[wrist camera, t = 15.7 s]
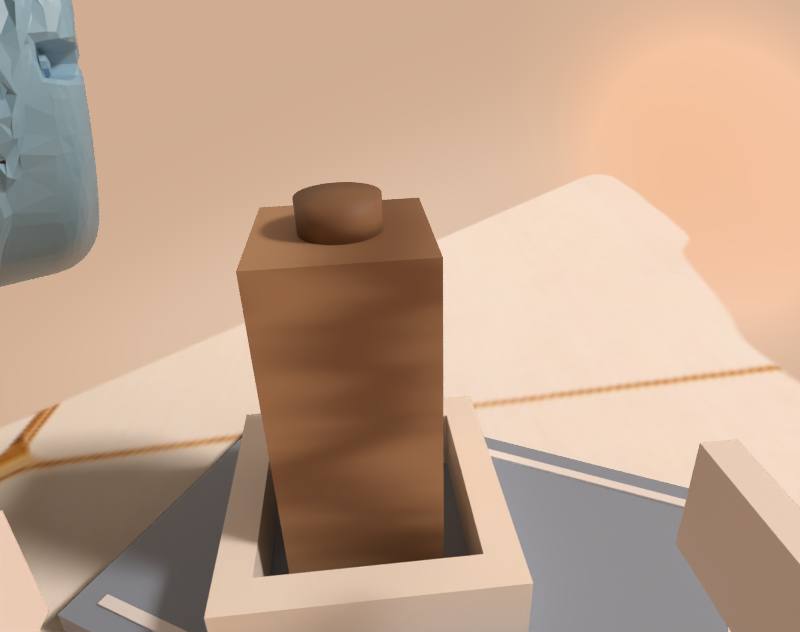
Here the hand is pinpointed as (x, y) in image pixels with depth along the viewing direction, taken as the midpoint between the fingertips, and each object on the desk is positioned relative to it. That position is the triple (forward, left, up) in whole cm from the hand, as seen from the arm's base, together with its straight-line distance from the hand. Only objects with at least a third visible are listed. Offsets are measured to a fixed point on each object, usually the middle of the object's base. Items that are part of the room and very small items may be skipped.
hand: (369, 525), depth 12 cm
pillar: (-4, +6, -9) cm, 11 cm away
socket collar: (-4, +7, -10) cm, 12 cm away
